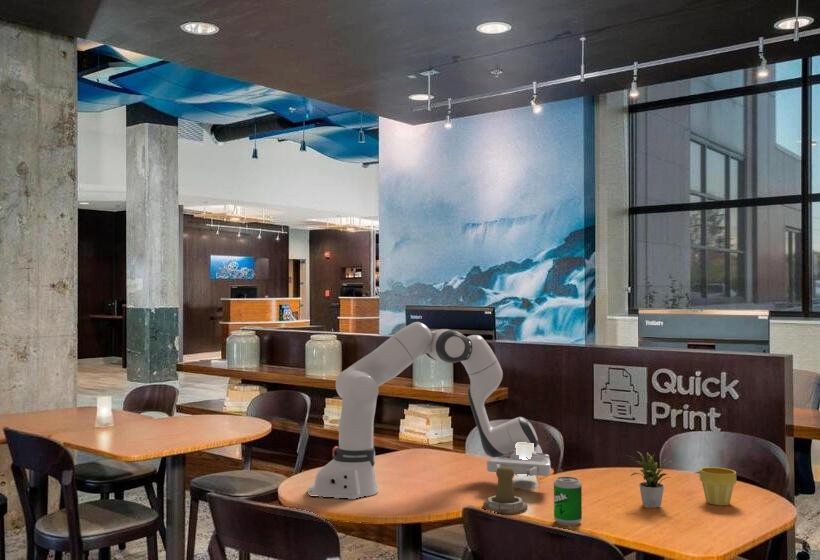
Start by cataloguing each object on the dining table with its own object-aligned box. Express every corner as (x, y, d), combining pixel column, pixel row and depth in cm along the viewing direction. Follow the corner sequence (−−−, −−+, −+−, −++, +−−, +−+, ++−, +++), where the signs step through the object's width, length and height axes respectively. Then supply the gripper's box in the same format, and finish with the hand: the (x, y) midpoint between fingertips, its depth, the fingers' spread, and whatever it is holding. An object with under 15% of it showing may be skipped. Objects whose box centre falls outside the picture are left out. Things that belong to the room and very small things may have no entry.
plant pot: (718, 497, 237) (718, 465, 238) (744, 505, 228) (744, 472, 228) (692, 500, 234) (692, 468, 234) (717, 508, 224) (716, 475, 224)
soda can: (577, 518, 214) (577, 475, 215) (584, 526, 207) (584, 482, 207) (551, 518, 214) (551, 475, 214) (557, 526, 207) (557, 482, 207)
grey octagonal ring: (484, 514, 219) (484, 505, 219) (481, 502, 232) (481, 493, 232) (529, 514, 218) (529, 505, 218) (524, 502, 231) (524, 494, 231)
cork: (515, 507, 222) (515, 469, 222) (494, 506, 223) (494, 469, 223) (515, 502, 228) (515, 465, 228) (495, 501, 229) (495, 464, 229)
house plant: (613, 501, 233) (613, 447, 233) (651, 496, 238) (650, 444, 238) (643, 513, 219) (643, 456, 220) (682, 508, 224) (681, 453, 225)
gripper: (492, 450, 253) (481, 459, 240) (553, 454, 246) (546, 463, 233) (492, 469, 253) (481, 479, 240) (554, 474, 246) (546, 484, 233)
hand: (514, 471), depth 236 cm, fingers open, 8 cm apart
